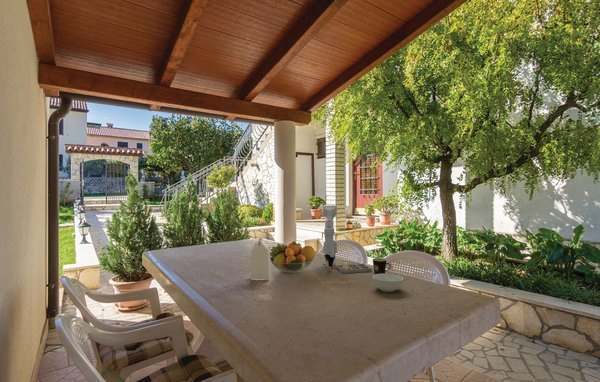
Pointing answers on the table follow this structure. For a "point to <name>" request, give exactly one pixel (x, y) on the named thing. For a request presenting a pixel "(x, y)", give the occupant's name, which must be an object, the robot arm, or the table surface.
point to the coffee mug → (380, 265)
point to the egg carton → (354, 268)
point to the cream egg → (345, 266)
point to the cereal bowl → (387, 282)
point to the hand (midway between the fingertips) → (329, 265)
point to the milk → (260, 261)
